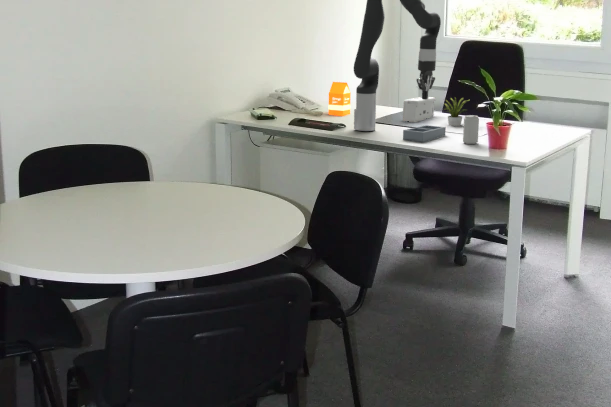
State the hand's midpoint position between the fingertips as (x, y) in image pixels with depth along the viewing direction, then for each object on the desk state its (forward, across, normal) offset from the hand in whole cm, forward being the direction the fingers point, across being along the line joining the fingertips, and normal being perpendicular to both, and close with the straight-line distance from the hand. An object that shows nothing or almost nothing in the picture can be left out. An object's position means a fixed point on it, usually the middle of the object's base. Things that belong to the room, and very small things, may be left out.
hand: (424, 99), depth 350 cm
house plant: (+19, -40, -3) cm, 44 cm away
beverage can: (+18, -6, +21) cm, 28 cm away
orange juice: (+20, -28, -65) cm, 74 cm away
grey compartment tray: (+18, -4, -1) cm, 19 cm away
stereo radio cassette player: (+19, -42, -26) cm, 53 cm away
